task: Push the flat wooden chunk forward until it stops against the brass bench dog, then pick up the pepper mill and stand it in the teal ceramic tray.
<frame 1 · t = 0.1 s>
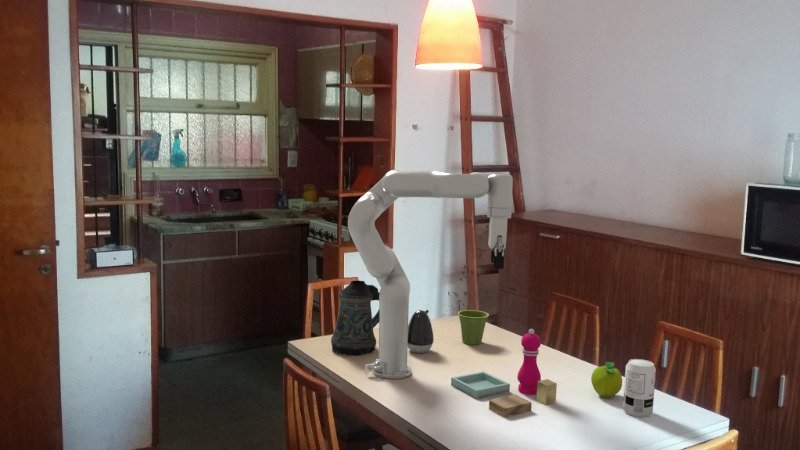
hand: (496, 265, 231), 37 cm above the table, tool pointing down, fingers open, 9 cm apart
pepper mill: (528, 391, 224), on the table
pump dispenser: (419, 351, 262), on the table
bench dog: (546, 401, 216), on the table
beer stein: (356, 348, 263), on the table
tray: (479, 388, 225), on the table
fruit: (605, 396, 222), on the table
flat wooden chunk: (509, 411, 208), on the table
supplement can: (637, 413, 209), on the table
plant pot: (472, 342, 274), on the table
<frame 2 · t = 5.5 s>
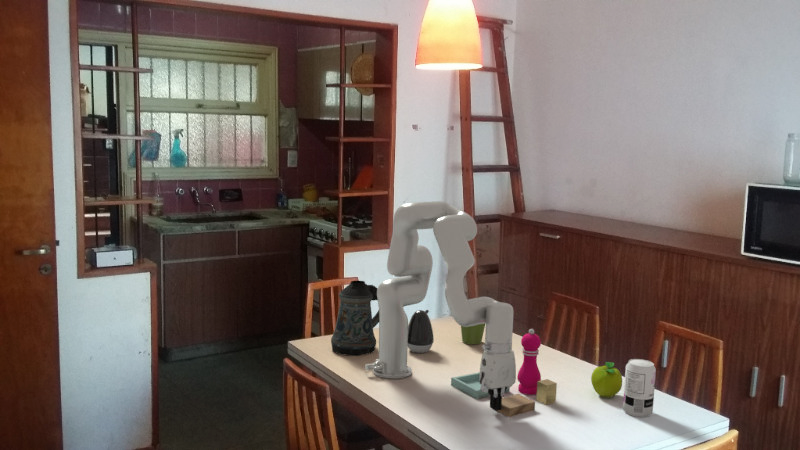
hand: (495, 408, 205), 1 cm above the table, tool pointing down, fingers closed
flat wooden chunk: (513, 410, 209), on the table, touching gripper
everything else where it was.
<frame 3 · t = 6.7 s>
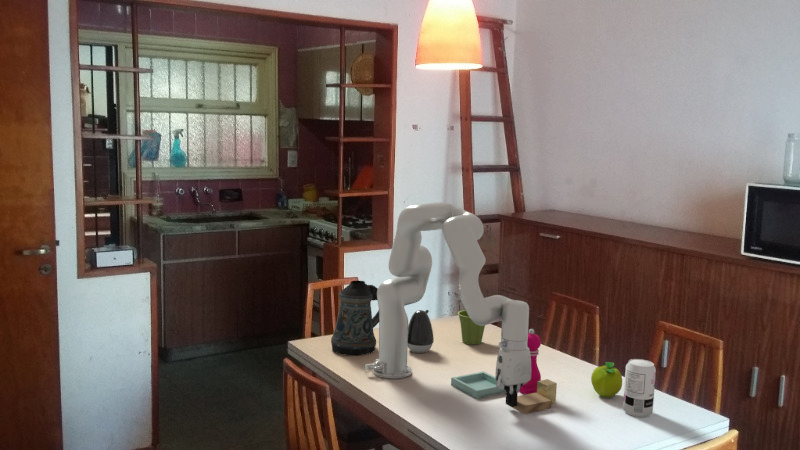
hand: (511, 405, 208), 1 cm above the table, tool pointing down, fingers closed
flat wooden chunk: (530, 408, 211), on the table, touching bench dog
everything else where it was.
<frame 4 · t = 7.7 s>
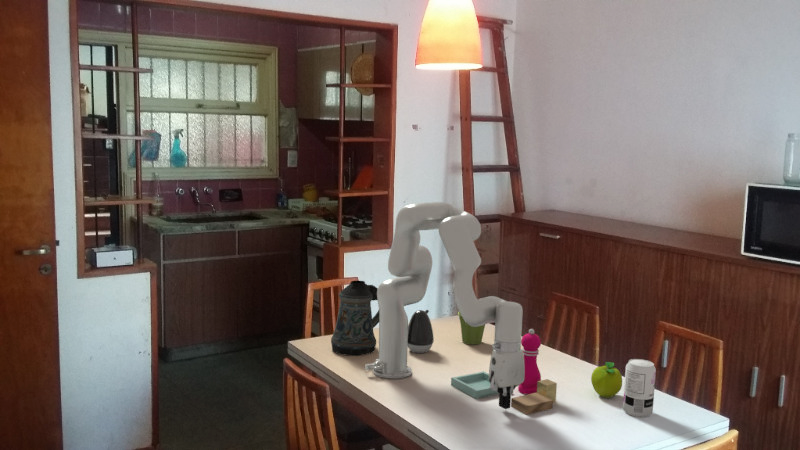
hand: (504, 407, 207), 1 cm above the table, tool pointing down, fingers closed
flat wooden chunk: (531, 408, 211), on the table
everything else where it was.
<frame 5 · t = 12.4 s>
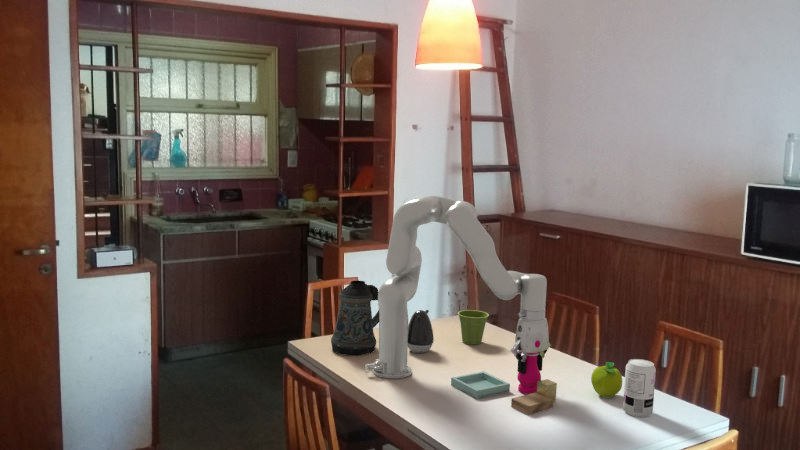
hand: (529, 370, 223), 7 cm above the table, tool pointing down, fingers closed on pepper mill, 5 cm apart
pepper mill: (528, 391, 224), on the table, touching gripper
everything else where it was.
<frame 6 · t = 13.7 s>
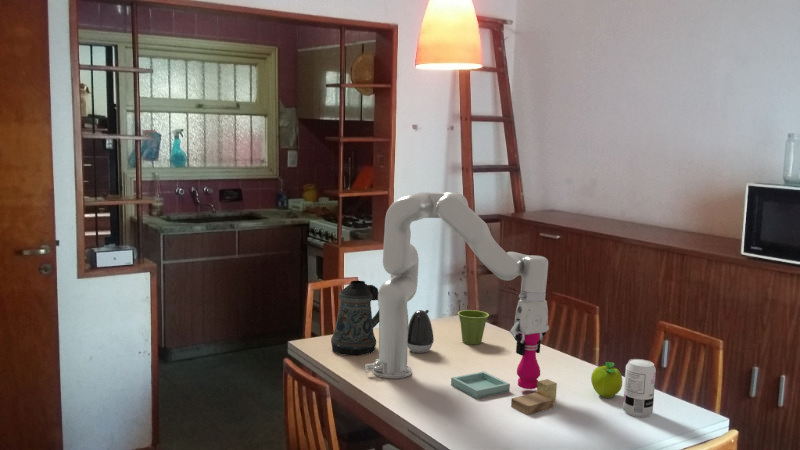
hand: (527, 352, 222), 12 cm above the table, tool pointing down, fingers closed on pepper mill, 5 cm apart
pepper mill: (527, 386, 224), point 2 cm above the table, touching gripper
everything else where it was.
when the fingers open (11 cm above the table, at t = 17.2 s): pepper mill stays where it is, resting on tray.
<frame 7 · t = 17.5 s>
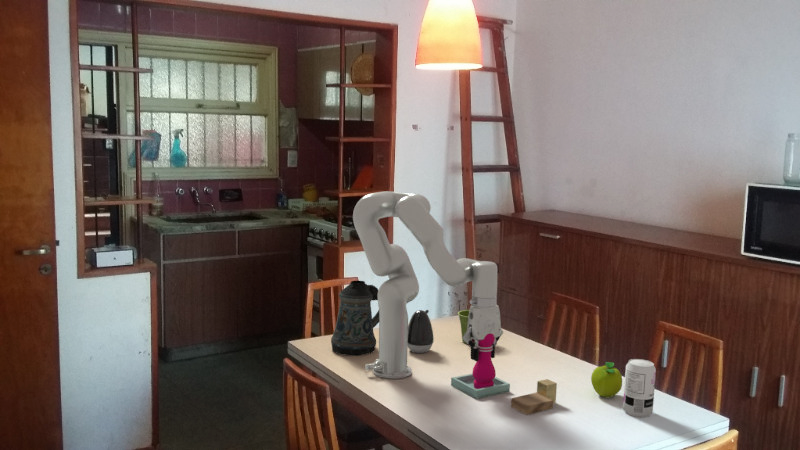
hand: (482, 357, 224), 10 cm above the table, tool pointing down, fingers open, 5 cm apart
pepper mill: (483, 387, 225), resting on tray, touching gripper
everything else where it was.
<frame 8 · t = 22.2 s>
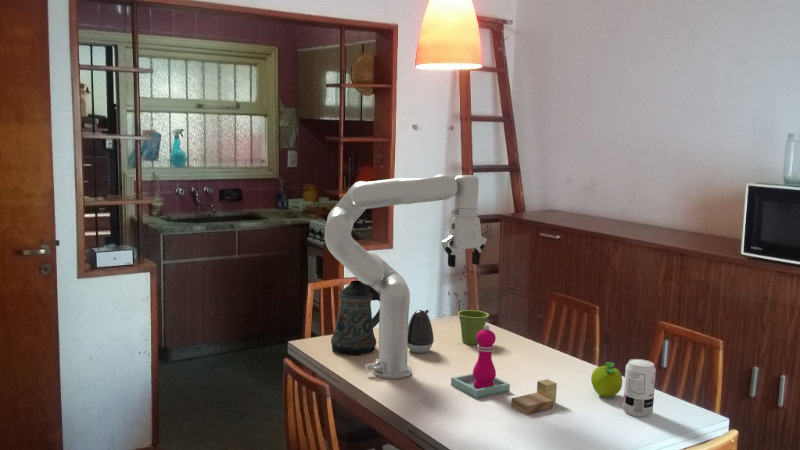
hand: (463, 265, 235), 36 cm above the table, tool pointing down, fingers open, 9 cm apart
pepper mill: (483, 387, 225), resting on tray
everything else where it was.
at the end: pepper mill inside the target area on the tray (1.2 cm from its centre), point 0.4 cm above the tray's base; pepper mill tilted 0°; flat wooden chunk 1.7 cm from the target spot, on the table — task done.
